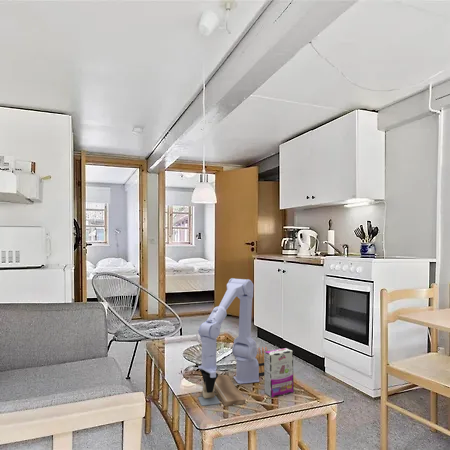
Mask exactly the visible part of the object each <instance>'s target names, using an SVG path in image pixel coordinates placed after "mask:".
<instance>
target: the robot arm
mask: <svg viewBox="0 0 450 450" xmlns="http://www.w3.org/2000/svg"><path fill="white" fill-rule="evenodd" d="M236 297H237V298H238V299H239V315H238V317H239V318H238V336H237V337H235V338H234V340H233V346H232V350H231V353H232V356H234V359H235V361H236V362H235V373H236V374H235V376H234V375H233V377H232V378H233V379H234V380H235V382H236V383H237V384H238V385H242V384H252V383H254V384H255V383H259V382H260V376H259V364H258V361H257V359H256V358H255V357H256V355H257V351H258V349H257V342H256V340H255V339H254V338H253V337H252V313H253V312H252V310H253V298H254V283H253V281H252V280H251V279H249V278H247V279H245V278H234V277H231V278H230V279H229V280H228V282H227V283H226V291H225V293H224V295H223V297H222V299H221V301H220V303H219V305H218V306H215V307H214V308H213V309H212V311H211V312H210V314H209V316H208V317H207V319H206V321H204V322H202V323H201V324H200V325H199V328H198V330H197V331H198V335H199V339H200V341H201V365H198V369H199V370H200V373H201V375H202V380H203V381H202V382H205V383H206V390H207V393H211V392H213V389H214V384H215V381H216V379H217V377H218V376H219V374H218V372H217V368H218V365H217V338H218V337H219V335H220V333H221V328H222V324H223V322H224V320H225V318H226V317H227V315H228V314H227V313H228V312H227V311H228V308H229V307H230V306H231V304H232V303H233V301H234V300H235V299H236Z"/></svg>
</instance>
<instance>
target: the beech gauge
mask: <svg viewBox="0 0 450 450" xmlns="http://www.w3.org/2000/svg"><path fill="white" fill-rule="evenodd" d="M215 393H216V391H215V384H214V389H213V392H211V393H207V390H206V383H205V382H204V381H202V397H204V398H213V397H215Z"/></svg>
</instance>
